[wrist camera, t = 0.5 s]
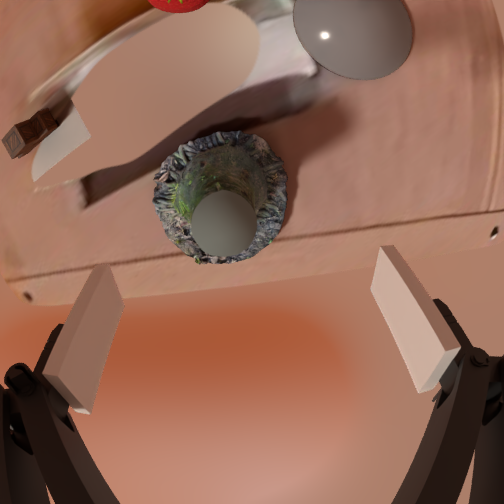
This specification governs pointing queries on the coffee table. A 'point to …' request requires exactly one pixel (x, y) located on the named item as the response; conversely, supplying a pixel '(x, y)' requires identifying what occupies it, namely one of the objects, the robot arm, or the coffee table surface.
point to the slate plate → (354, 35)
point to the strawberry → (178, 5)
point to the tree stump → (221, 197)
